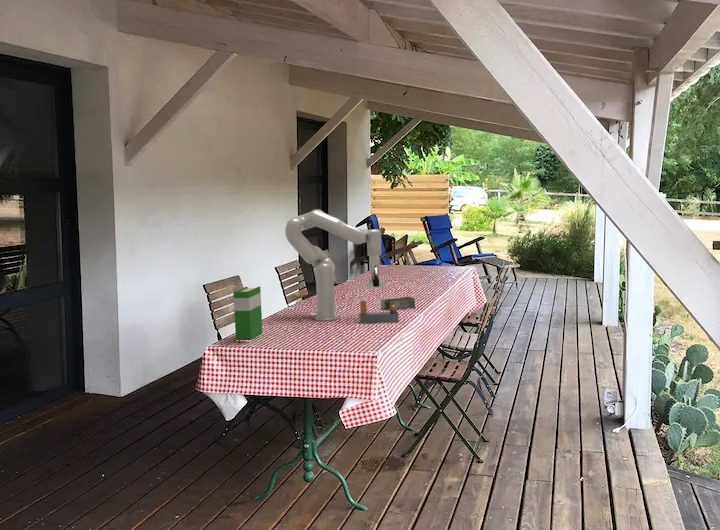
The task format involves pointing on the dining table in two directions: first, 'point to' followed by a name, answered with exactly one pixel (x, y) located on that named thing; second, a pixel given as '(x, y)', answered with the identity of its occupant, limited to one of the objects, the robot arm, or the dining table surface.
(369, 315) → the plane body
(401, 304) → the beverage carton
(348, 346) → the dining table surface
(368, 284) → the white box
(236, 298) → the green cereal box
